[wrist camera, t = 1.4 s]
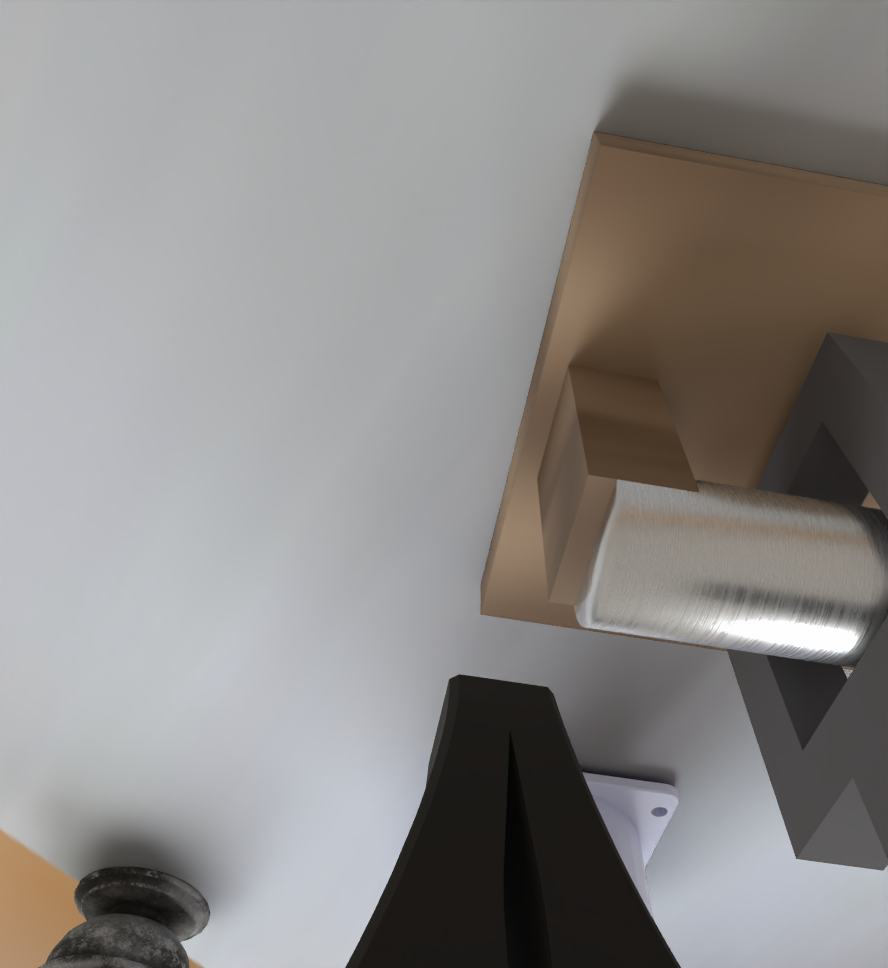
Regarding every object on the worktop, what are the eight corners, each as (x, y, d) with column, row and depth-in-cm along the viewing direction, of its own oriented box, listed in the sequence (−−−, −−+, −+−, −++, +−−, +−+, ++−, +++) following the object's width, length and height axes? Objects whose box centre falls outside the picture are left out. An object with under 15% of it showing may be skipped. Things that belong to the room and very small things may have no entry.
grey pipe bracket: (771, 603, 21) (919, 956, 14) (708, 593, 21) (824, 944, 14) (904, 345, 17) (1205, 655, 10) (827, 332, 17) (1075, 635, 10)
